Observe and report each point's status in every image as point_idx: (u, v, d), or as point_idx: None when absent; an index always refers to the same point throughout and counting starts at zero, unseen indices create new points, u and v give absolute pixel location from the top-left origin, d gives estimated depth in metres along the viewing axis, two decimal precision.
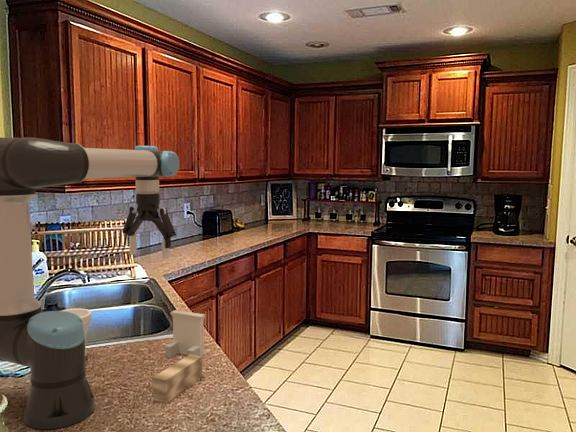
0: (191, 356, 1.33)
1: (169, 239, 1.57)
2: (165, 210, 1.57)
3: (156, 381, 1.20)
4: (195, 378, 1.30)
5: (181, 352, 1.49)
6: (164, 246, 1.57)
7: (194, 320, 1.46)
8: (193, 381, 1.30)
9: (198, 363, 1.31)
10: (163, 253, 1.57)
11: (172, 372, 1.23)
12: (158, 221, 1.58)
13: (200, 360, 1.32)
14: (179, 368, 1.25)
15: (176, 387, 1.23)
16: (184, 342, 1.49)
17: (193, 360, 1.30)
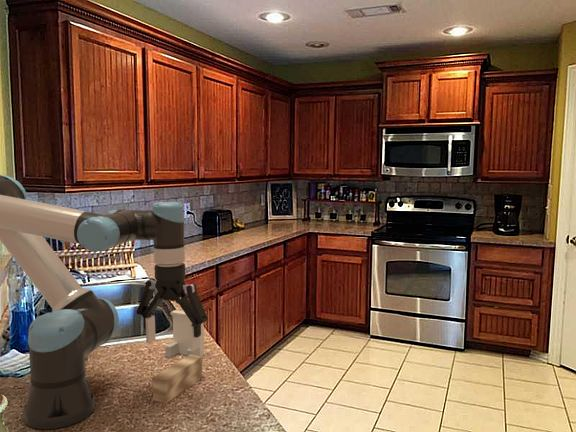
0: (191, 356, 1.33)
1: (199, 325, 1.19)
2: (193, 288, 1.18)
3: (156, 381, 1.20)
4: (195, 378, 1.30)
5: (181, 352, 1.49)
6: (193, 335, 1.19)
7: None
8: (193, 381, 1.30)
9: (198, 363, 1.31)
10: (191, 344, 1.19)
11: (172, 372, 1.23)
12: (184, 301, 1.19)
13: (200, 360, 1.32)
14: (179, 368, 1.25)
15: (176, 387, 1.23)
16: (184, 342, 1.49)
17: (193, 360, 1.30)
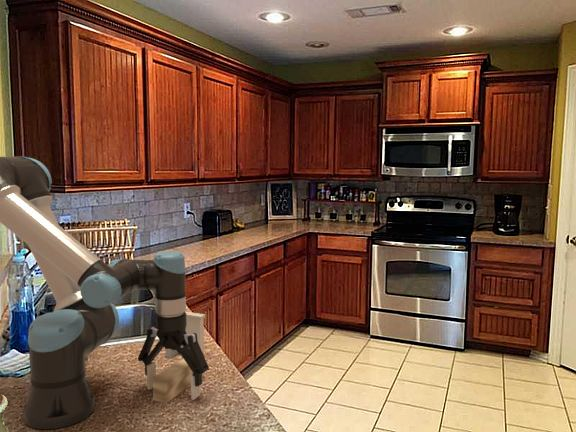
0: None
1: (200, 374, 1.20)
2: (194, 337, 1.20)
3: (156, 381, 1.20)
4: None
5: None
6: (194, 384, 1.20)
7: (194, 320, 1.46)
8: None
9: None
10: (192, 393, 1.20)
11: (171, 372, 1.23)
12: (185, 351, 1.21)
13: None
14: (179, 368, 1.25)
15: (176, 387, 1.23)
16: None
17: None
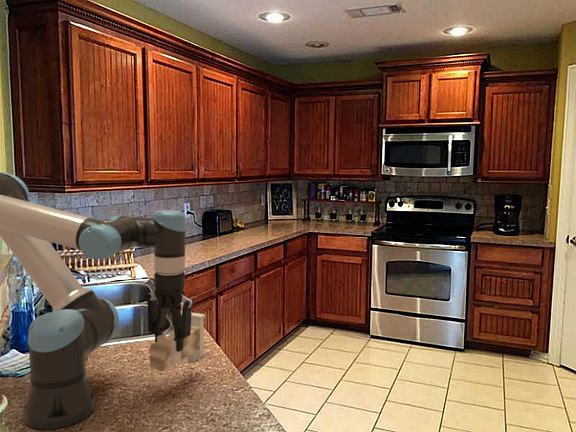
0: None
1: (182, 340, 1.21)
2: (190, 304, 1.19)
3: (153, 348, 1.19)
4: (192, 349, 1.30)
5: None
6: (175, 349, 1.21)
7: (194, 320, 1.46)
8: (190, 352, 1.29)
9: (196, 334, 1.31)
10: (173, 358, 1.21)
11: (169, 340, 1.22)
12: (177, 314, 1.21)
13: (198, 331, 1.31)
14: None
15: None
16: None
17: (191, 331, 1.29)
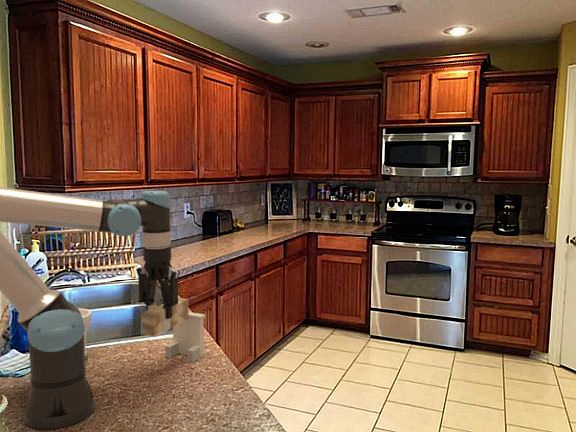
0: (178, 299, 1.44)
1: (170, 308, 1.33)
2: (177, 275, 1.31)
3: (144, 316, 1.31)
4: (181, 318, 1.42)
5: (181, 352, 1.49)
6: (164, 317, 1.33)
7: (194, 320, 1.46)
8: (180, 320, 1.41)
9: (184, 304, 1.43)
10: (163, 325, 1.33)
11: (159, 309, 1.34)
12: (165, 284, 1.33)
13: (186, 302, 1.44)
14: None
15: None
16: (184, 342, 1.49)
17: (179, 301, 1.42)
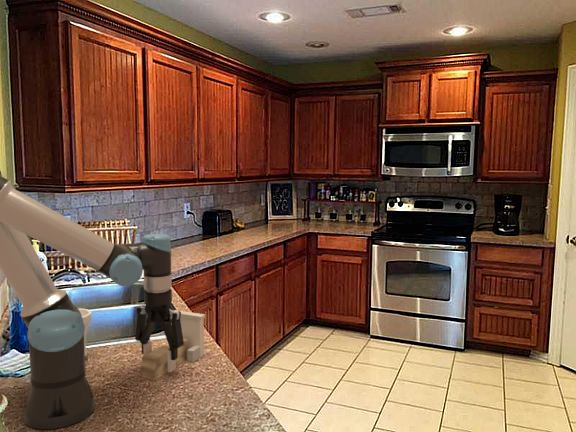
0: None
1: (176, 349, 1.34)
2: (178, 316, 1.32)
3: (145, 360, 1.32)
4: (181, 359, 1.43)
5: None
6: (170, 358, 1.34)
7: (194, 320, 1.46)
8: (179, 361, 1.42)
9: (184, 345, 1.44)
10: (169, 366, 1.34)
11: (159, 352, 1.36)
12: (167, 326, 1.34)
13: (186, 343, 1.45)
14: (166, 349, 1.38)
15: (163, 366, 1.35)
16: None
17: None
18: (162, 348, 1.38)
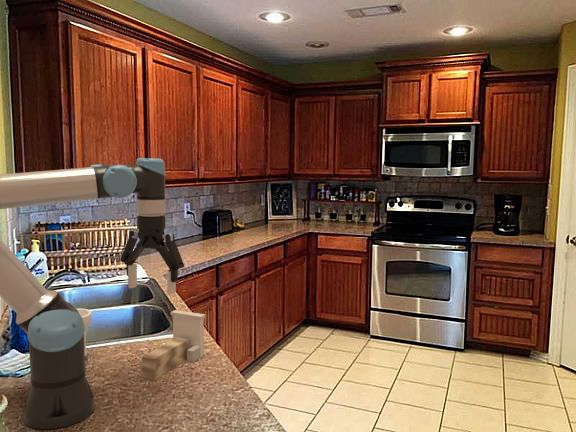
0: (178, 339, 1.46)
1: (176, 271, 1.30)
2: (171, 236, 1.30)
3: (145, 360, 1.32)
4: (181, 359, 1.43)
5: None
6: (170, 280, 1.30)
7: (194, 320, 1.46)
8: (179, 361, 1.42)
9: (184, 345, 1.44)
10: (168, 288, 1.30)
11: (159, 352, 1.36)
12: (163, 249, 1.31)
13: (186, 343, 1.45)
14: (166, 349, 1.38)
15: (163, 366, 1.35)
16: None
17: (179, 342, 1.43)
18: (162, 348, 1.38)
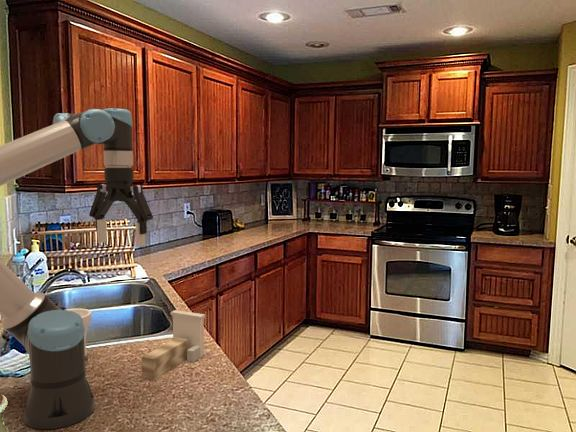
0: (178, 339, 1.46)
1: (145, 223, 1.29)
2: (139, 188, 1.28)
3: (144, 360, 1.32)
4: (181, 359, 1.43)
5: None
6: (138, 232, 1.28)
7: (194, 320, 1.46)
8: (179, 361, 1.42)
9: (184, 345, 1.44)
10: (137, 240, 1.29)
11: (159, 352, 1.36)
12: (131, 201, 1.29)
13: (186, 343, 1.45)
14: (166, 349, 1.38)
15: (163, 366, 1.35)
16: None
17: (179, 342, 1.43)
18: (162, 348, 1.39)
